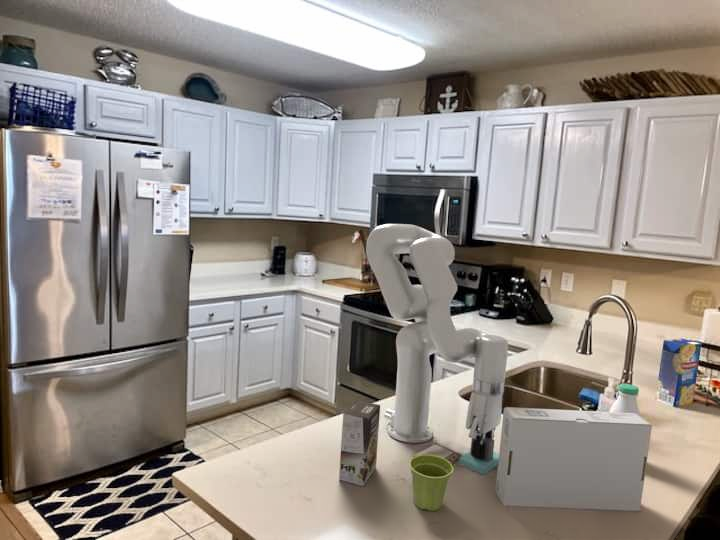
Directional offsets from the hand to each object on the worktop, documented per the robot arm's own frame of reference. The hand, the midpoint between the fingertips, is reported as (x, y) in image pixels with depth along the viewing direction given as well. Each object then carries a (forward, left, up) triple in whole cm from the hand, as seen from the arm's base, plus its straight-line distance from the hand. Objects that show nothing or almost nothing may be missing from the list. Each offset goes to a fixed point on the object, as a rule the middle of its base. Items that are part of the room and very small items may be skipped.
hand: (481, 454), depth 127 cm
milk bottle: (+24, +32, -2) cm, 40 cm away
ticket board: (-8, -7, -2) cm, 11 cm away
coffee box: (-17, -27, -2) cm, 32 cm away
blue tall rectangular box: (+25, +95, -2) cm, 98 cm away
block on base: (0, 0, -2) cm, 2 cm away
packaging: (+22, 0, -2) cm, 22 cm away
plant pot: (+1, -25, -2) cm, 25 cm away
